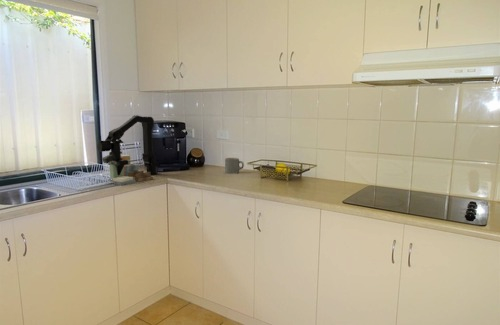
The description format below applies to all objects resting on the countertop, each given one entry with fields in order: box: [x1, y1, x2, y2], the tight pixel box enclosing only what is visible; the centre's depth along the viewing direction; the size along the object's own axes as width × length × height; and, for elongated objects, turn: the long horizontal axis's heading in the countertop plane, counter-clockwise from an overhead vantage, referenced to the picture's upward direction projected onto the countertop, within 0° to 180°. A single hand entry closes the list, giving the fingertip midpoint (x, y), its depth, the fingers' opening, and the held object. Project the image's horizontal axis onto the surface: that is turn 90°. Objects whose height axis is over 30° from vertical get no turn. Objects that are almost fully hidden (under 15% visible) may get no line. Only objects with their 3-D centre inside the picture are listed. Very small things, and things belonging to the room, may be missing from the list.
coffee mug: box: [224, 157, 245, 175], centre depth 246 cm, size 13×10×10 cm
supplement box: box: [121, 154, 131, 166], centre depth 237 cm, size 8×5×13 cm, turn 143°
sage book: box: [109, 164, 124, 181], centre depth 218 cm, size 7×4×10 cm, turn 142°
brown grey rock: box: [123, 163, 154, 183], centre depth 222 cm, size 11×20×8 cm, turn 52°
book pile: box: [112, 176, 136, 186], centre depth 208 cm, size 11×9×3 cm
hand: (117, 174), depth 218 cm, fingers closed on sage book, 4 cm apart
